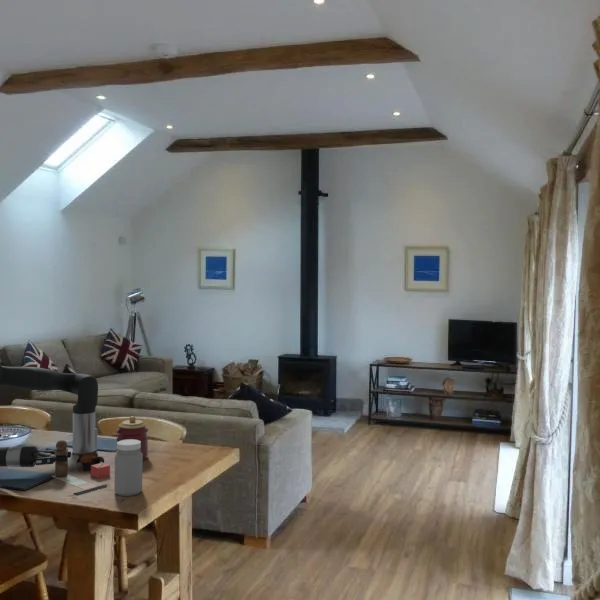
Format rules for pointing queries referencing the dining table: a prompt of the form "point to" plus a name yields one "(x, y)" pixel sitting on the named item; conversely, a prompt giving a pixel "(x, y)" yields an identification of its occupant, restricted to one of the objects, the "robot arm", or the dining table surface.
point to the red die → (100, 470)
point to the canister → (134, 433)
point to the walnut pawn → (61, 467)
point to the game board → (81, 482)
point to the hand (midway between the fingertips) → (68, 456)
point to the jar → (128, 467)
